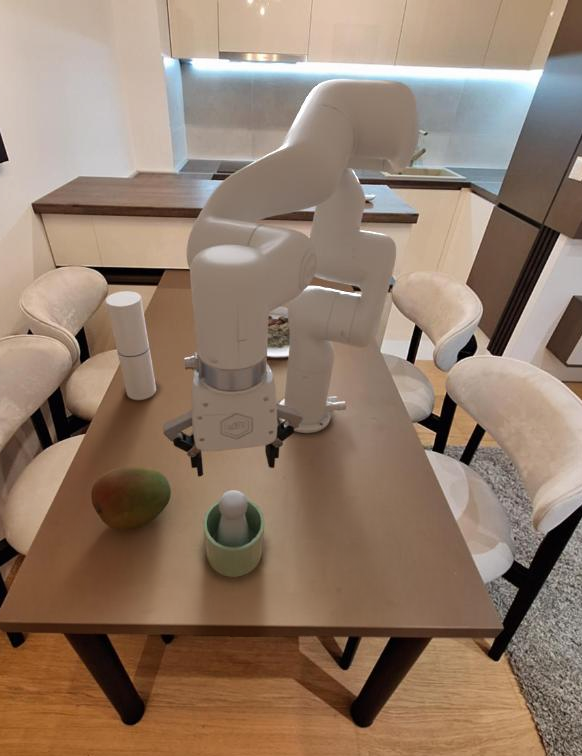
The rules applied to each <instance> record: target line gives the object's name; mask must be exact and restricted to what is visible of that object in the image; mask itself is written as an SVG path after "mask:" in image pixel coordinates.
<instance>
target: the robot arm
mask: <svg viewBox="0 0 582 756" xmlns="http://www.w3.org/2000/svg"><path fill="white" fill-rule="evenodd" d="M420 130H421V121H420V114H419V107H418V102H417V99H416V96H415V94H414V92H413V91H412V89H411V88H410V87H409V86H408V85H407V84H405V83H403V82H400V81H397V80H387V79H385V80H384V79H360V78H359V79H356V78H333V79H329V80H326V81H322V82H321V83H319V84H318V85H317V86H315V87H314V88H313V89H312V90H311V91H310V92H309V94H308V96H307V97H306V98H305V100H304V102H303V104H302V105H301V108H300V110H299V112H298V113H297V115H296V117H295V118H294V120H293V123H292V124H291V126H290V128H289V130H288V132H287V133H286V135H285V137H284V139H283V140H282V143H281V145H280V147H279V148H278V149H276V150H275V151H272V152H270V153H268V154H266V155H264V156H262V157H260V158H259V159H256V160H255V161H253V162H251V163H250V164H248V165H246V166H244V167H242V168H241V169H239V170H236V171H235V172H233V173H232V174H231V175H229V176H228V177H226V178H225V179H223V181H222V182H220V183H219V184H218V186H216V188H214V190H213V191H212V193H211V194H210V196H209V197H208V199H207V201H206V202H205V204H204V206H203V207H202V209H201V210H200V213H199V214H198V216H197V218H196V219H195V222H194V224H193V226H192V228H191V230H190V233H189V236H188V239H187V246H186V262H187V266H188V269H189V277H190V278H189V281H190V290H191V301H192V311H193V323H194V333H195V343H196V345H195V346H196V352H194V355H191V356H185V357H184V359H183V362H184V369H185V370H186V371H187V370H192V371H193V377H192V382H191V383H192V384H191V401H190V406H191V410H189V411H187V412H185V413H183V414H182V415H179V416H178V417H176V418H173V419H171V420H168V422H165V423H164V424H163V435H164V436H165V437H166V438H167V439H169V441H170V442H172V443H173V446H174V447H176V448H178V449H180V450H182V451H184V452H186V455H187V456H188V457H189V458H190V465H191V466H190V467H191V469H196V471H197V477H198V478H199V477H202V476H204V468H203V454H202V452H221V451H230V450H231V451H232V450H241V449H248V448H256V447H263V446H265V448H264V449H265V450H264V451H265V457H266V461H267V466H268V468H270V469H274V468H275V466H276V465H275V464H276V459H279V457H280V448H281V447H282V446H283V445H284V441H286V440H287V439H288V438H289V437H291V436H292V435H293V434H294V433H295V432H297V433H301V434H310V433H311V434H312V433H318V432H320V431H322V430H324V429H325V428H326V427H327V426H328V425H329V424H330V422H331V418H332V413H333V412H334V411H346V410H347V404H346V401H338V396H336V395H335V396H329V391H330V384H331V380H332V379H331V378H332V374H333V373H332V372H333V367H334V363H335V362H334V361H335V349H334V346H333V343H332V342H334V343H338V344H342V345H347V346H349V347H357V348H366V347H369V346H370V345H371V344H372V343H374V340H375V339H376V336H377V334H378V331H379V327H380V324H381V321H382V316H383V312H384V309H385V305H386V301H387V297H388V293H389V289H390V285H391V281H392V278H393V273H394V269H395V264H396V260H397V245H396V243H395V241H394V239H393V238H392V237H390V236H389V235H387V234H384V233H379V232H374V231H368V230H367V231H366V230H362V229H361V224H362V219H363V214H364V211H365V208H366V195H365V192H364V189H363V187H362V185H361V182H360V180H359V178H358V176H357V175H356V172H355V171H354V170H360V171H372V172H380V173H392V174H393V173H395V174H396V173H400V172H402V171H404V170H405V169H406V168H407V167H408V166H409V164H410V163H411V162H412V160H413V158H414V156H415V154H416V151H417V147H418V144H419V139H420ZM314 207H315V209H314V213H313V219H312V224H311V229H310V234H309V236H308V235H306V234H305V233H303V232H301V231H299V230H295V229H291V228H287V227H281V226H274V225H267V224H264V223H260V222H258V221H261V220H264V219H267V218H271V217H275V216H276V217H277V216H280V215H285V214H290V213H291V214H292V213H295V212H300V211H303V210H306V209H310V208H314ZM314 278H317V279H320V280H324V281H329V282H333V283H336V284H337V283H338V284H344V285H349V286H353V287H357V288H359V289H360V291H361V294H358V293H353V292H348V291H342V290H339V289H334V288H329V287H324V286H319V285H311V283H312V281H313V279H314ZM286 304H287V308H288V322H289V333H290V344H289V357H287V358H288V359H287V369H286V377H285V378H286V379H285V388H284V389H285V391H284V398H283V399H281V400H280V402H279V403H278V399H277V389H276V387H277V386H276V381H275V376H274V373H273V371H272V370H271V369H272V368H271V367H270V365H269V364H268V357H267V343H268V318H269V313H270V312H271V311H272V310H274V309H276V308H278V307H283V306H284V305H286ZM278 421H279V422H280V424H278ZM191 427H192V431H191V432H190V433H189V434H187V433H185V432H183V431H184V430H186V429H188V428H191Z"/></svg>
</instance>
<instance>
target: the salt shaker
mask: <svg viewBox="0 0 582 756" xmlns="http://www.w3.org/2000/svg"><path fill="white" fill-rule="evenodd" d="M246 499H247V496H246V495H245V494H244V493H243V492H241V491H239V490H235V489H234V490H233V489H231V490H228V491H225V492H224V493H223V494H221V496H220V498H219V504H218V505H219V510H220V513H221V514H222V515H221V519H220V523H219V527H218V531H217V535H216V542H217V543H219V544H221V545H223V546H226V547H232V548H233V547H240V546H244V545H246V544H248V543H250V542H251V535H250V531H249V527H248V524H247V520H246V516H245V513H246V510H247V506H248V503H247V500H246Z"/></svg>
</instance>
